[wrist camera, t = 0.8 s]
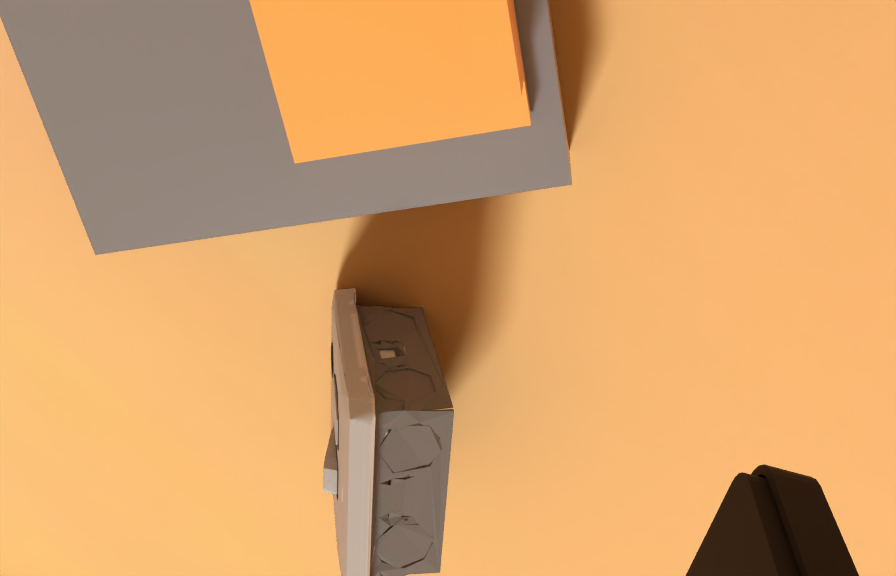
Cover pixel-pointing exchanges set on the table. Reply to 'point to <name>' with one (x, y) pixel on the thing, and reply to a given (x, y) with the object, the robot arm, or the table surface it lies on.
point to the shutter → (391, 71)
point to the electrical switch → (386, 440)
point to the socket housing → (239, 126)
